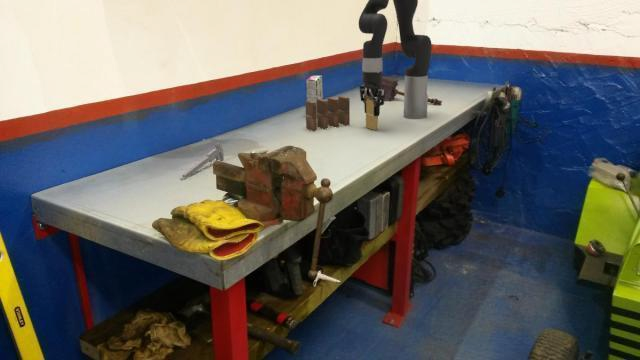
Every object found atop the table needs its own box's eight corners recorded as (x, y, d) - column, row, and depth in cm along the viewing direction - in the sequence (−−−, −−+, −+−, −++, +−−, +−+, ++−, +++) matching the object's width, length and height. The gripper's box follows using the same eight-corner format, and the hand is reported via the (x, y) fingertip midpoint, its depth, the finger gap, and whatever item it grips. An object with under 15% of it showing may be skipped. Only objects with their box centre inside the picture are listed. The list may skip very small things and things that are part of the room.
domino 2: (321, 126, 202) (320, 98, 199) (328, 128, 198) (327, 100, 194) (317, 126, 202) (316, 99, 198) (324, 129, 197) (323, 101, 193)
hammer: (380, 94, 254) (384, 75, 249) (440, 114, 239) (446, 93, 235) (374, 97, 249) (377, 77, 244) (435, 117, 234) (440, 96, 229)
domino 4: (342, 122, 207) (342, 95, 203) (349, 125, 203) (349, 97, 199) (338, 123, 206) (338, 96, 202) (345, 125, 202) (345, 98, 198)
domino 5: (369, 126, 199) (369, 98, 195) (377, 129, 195) (378, 100, 191) (365, 127, 198) (366, 99, 194) (373, 130, 194) (374, 101, 190)
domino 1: (310, 127, 200) (309, 100, 196) (317, 130, 196) (316, 102, 192) (306, 128, 199) (305, 100, 195) (312, 131, 195) (312, 103, 191)
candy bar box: (312, 112, 226) (311, 75, 220) (323, 112, 225) (322, 75, 219) (306, 118, 215) (305, 79, 210) (318, 118, 214) (317, 79, 209)
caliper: (221, 160, 164) (219, 141, 162) (224, 160, 164) (222, 142, 162) (180, 180, 147) (177, 160, 145) (183, 181, 147) (180, 160, 144)
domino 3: (331, 124, 205) (331, 97, 201) (338, 127, 200) (338, 99, 197) (327, 124, 204) (327, 97, 200) (334, 127, 200) (334, 99, 196)
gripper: (353, 68, 193) (353, 112, 199) (375, 73, 181) (375, 119, 187) (369, 66, 196) (369, 109, 202) (392, 71, 184) (391, 116, 190)
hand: (371, 114), depth 194 cm, fingers closed on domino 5, 5 cm apart
